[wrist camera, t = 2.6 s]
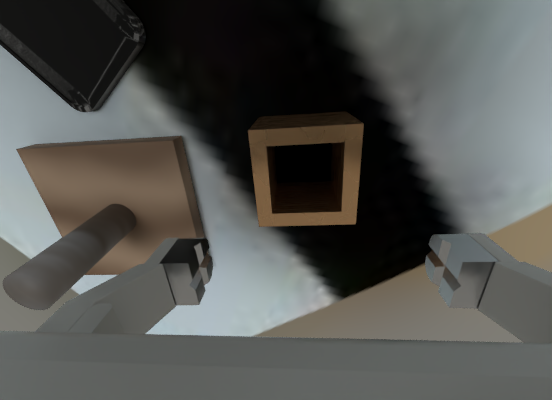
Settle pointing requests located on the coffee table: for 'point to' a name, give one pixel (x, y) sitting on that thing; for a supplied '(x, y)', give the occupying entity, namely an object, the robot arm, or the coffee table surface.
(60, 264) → the post stand
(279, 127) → the wooden square sleeve
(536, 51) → the coffee table surface
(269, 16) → the coffee table surface
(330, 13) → the coffee table surface
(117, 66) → the phone
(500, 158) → the coffee table surface
